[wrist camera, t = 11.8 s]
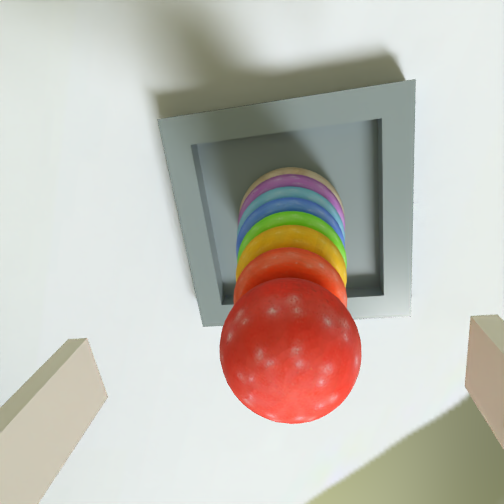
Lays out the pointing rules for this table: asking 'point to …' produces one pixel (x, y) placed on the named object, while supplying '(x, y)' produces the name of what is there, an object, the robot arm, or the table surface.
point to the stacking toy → (290, 301)
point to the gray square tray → (311, 158)
